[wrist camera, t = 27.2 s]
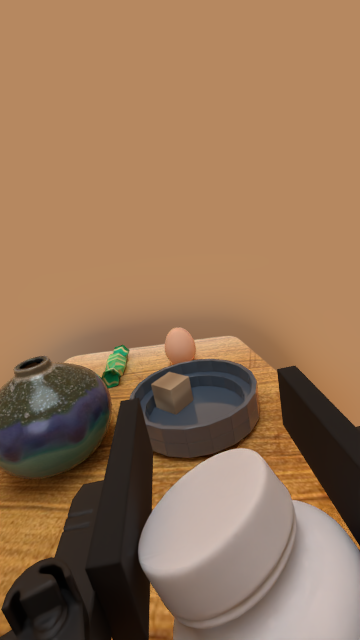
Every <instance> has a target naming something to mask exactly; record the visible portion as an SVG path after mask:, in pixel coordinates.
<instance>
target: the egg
mask: <svg viewBox="0 0 360 640" xmlns="http://www.w3.org/2000/svg"><path fill="white" fill-rule="evenodd" d="M165 352H166V355H167V357H168V359H169V360H170V361H171V362H172V363H173V364H177V363H181V362H186V361H192V360H193V358H194V356H195V352H196V348H195V343H194V340H193V338H192V337H191V335H190V334H189V333H188V332H187V331H186V330H185V329H183V328H179V327H178V328H174V329H172V330H171V331H170V332H169V333H168V335H167V337H166V341H165Z"/></svg>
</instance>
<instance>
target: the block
mask: <svg viewBox="0 0 360 640" xmlns="http://www.w3.org/2000/svg"><path fill="white" fill-rule="evenodd" d="M151 387H152V391H153V395H154V399H155V403H156V407H157V408H159V409H162V410H165V411H167V412H170V413H173V414H175V415H176V414H178V413H179V412H180V411H181V410H182V409H183V408H185V407H186V406H187V405H188V404H189V403H191V402H192V401H193V395H192V390H191V385H190V380H189V377H188V376H184V375H180V374H176V373H172V372H168V373H167V374H165V375H164V376H162V377H161V378H159V379H158V380H156V381H155V382H154V383H152V384H151Z"/></svg>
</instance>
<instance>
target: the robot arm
mask: <svg viewBox="0 0 360 640" xmlns="http://www.w3.org/2000/svg"><path fill="white" fill-rule="evenodd" d="M277 372H278V381H279V391H280V400H281V409H282V418H283V425H284V427H285V428H286V430H287V431H288V433H289V435H290V436H291V438H292V439H293V441H294V442H295V444H296V446H297V447H298V449H299V450H300V452H301V454H302V455H303V457H304V458H305V460H306V462H307V463H308V465H309V466H310V468H311V469H312V471H313V473H314V474H315V476H316V477H317V479H318V481H319V482H320V484H321V485H322V487H323V488H324V490H325V492H326V493H327V495H328V496H329V498H330V500H331V501H332V503H333V504H334V506H335V507H336V509H337V511H338V512H339V514H340V515H341V517H342V519H343V520H344V522H345V523H346V525H347V527H348V528H349V530H350V531H351V533H352V534H353V536H354V538H355V539H356V541H357V542H358V544H359V546H360V426H358V427H355V426H354V425H353V424H352V423H351V422H350V421H349V420H348V419H347V418H346V417H345V416H344V415H343V414H342V413H341V412H340V411H339V410H338V409H337V408H336V407H335V406H334V405H333V404H332V403H331V402H330V401H329V400H328V399H327V398H326V397H325V396H324V394H323V393H321V391H320V390H318V389H317V388H316V387H315V385H314V384H313V383H312V382H311V381H310V380H309V379H308V378H307V377H306V376H305V375H304V374H303V373H302V372H301V371H300V370H299V369H298V368H297V367H296V366H291V367H286V368H281V369H277ZM152 473H153V449H152V446H151V442H150V438H149V434H148V430H147V427H146V423H145V419H144V415H143V411H142V408H141V404H140V400H139V398H135V399H130V400H125V401H121V403H120V408H119V412H118V417H117V422H116V426H115V431H114V436H113V440H112V445H111V450H110V454H109V459H108V464H107V468H106V473H105V478H104V480H103V481H98V482H93V483H88V484H83V486H82V487H81V488H80V490H79V491H78V493H77V494H76V495H75V497H74V498H73V500H72V503H71V507H70V510H69V513H68V518H67V519H66V522H65V526H64V532H62V535H61V538H60V542H59V545H58V548H57V551H56V554H55V558H52V557H51V558H48V559H44V560H41V561H39V562H37V563H35V564H34V565H32V566H31V567H29V568H28V569H26V570H25V571H24V572H23V573H22V574H21V575H20V576H19V577H18V578H17V579H16V580H15V582H14V584H13V585H12V587H11V588H10V590H9V591H8V593H7V594H6V597H5V600H4V603H3V606H2V609H1V610H2V611H3V613H4V615H5V617H6V619H7V621H8V623H9V624H10V626H11V628H12V630H11V631H9V632H8V633H6V634H4V635H3V636H1V637H0V640H111V637H112V639H113V640H149V601H150V581H149V579H148V578H147V576H146V575H145V573H144V571H143V569H142V568H141V565H140V562H139V558H138V545H139V540H140V536H141V533H142V530H143V528H144V526H145V524H146V522H147V520H148V518H149V516H150V514H151V513H152Z"/></svg>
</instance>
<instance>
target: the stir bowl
mask: <svg viewBox="0 0 360 640" xmlns="http://www.w3.org/2000/svg"><path fill="white" fill-rule="evenodd" d="M168 372H172V373H176V374H180V375H184V376H188V377H189V380H190V385H191V390H192V395H193V401H192V402H191V403H189V404H188V405H187V406H186V407H185V408H183V409H182V410H181V411H180V412H179V413H178V414H176V415H175V414H173V413H170V412H167V411H165V410H162V409H159V408H157V407H156V403H155V399H154V395H153V391H152V387H151V384H152V383H154V382H155V381H156V380H158V379H159V378H161V377H162V376H164V375H165V374H167V373H168ZM135 398H139V400H140V404H141V408H142V411H143V415H144V419H145V423H146V427H147V430H148V434H149V438H150V442H151V446H152V449H153V451H154V452H157V453H160V454H163V455H165V456H168V457H184V458H190V457H191V458H192V457H198V456H204V455H209V454H214V453H217V452H219V451H221V450H224V449H226V448H228V447H231V446H233V445H235V444H237V443H238V442H239V441H240V440H242V439H243V438H244V437H245V436H247V435H248V434H249V433H250V432H251V431H252V429H253V428H254V426H255V425H256V423H257V421H258V420H259V414H260V402H259V395H258V387H257V381H256V379H255V377H254V375H253V373H252V372H251V371H250V370H248V369H247V368H246V367H244V366H243V365H241V364H238V363H235V362H231V361H228V360H219V359H199V360H192V361H186V362H181V363H177V364H174V365H171V366H168V367H165V368H163V369H161V370H159V371H157V372H155V373H153V374H151V375H150V376H148V377H147V378H146V379H144V380H143V381H142V382H140V383H139V384H138V385H137V387H136V388H135V389H134V391H133V392H132V393H131V396H130V399H135Z"/></svg>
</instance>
